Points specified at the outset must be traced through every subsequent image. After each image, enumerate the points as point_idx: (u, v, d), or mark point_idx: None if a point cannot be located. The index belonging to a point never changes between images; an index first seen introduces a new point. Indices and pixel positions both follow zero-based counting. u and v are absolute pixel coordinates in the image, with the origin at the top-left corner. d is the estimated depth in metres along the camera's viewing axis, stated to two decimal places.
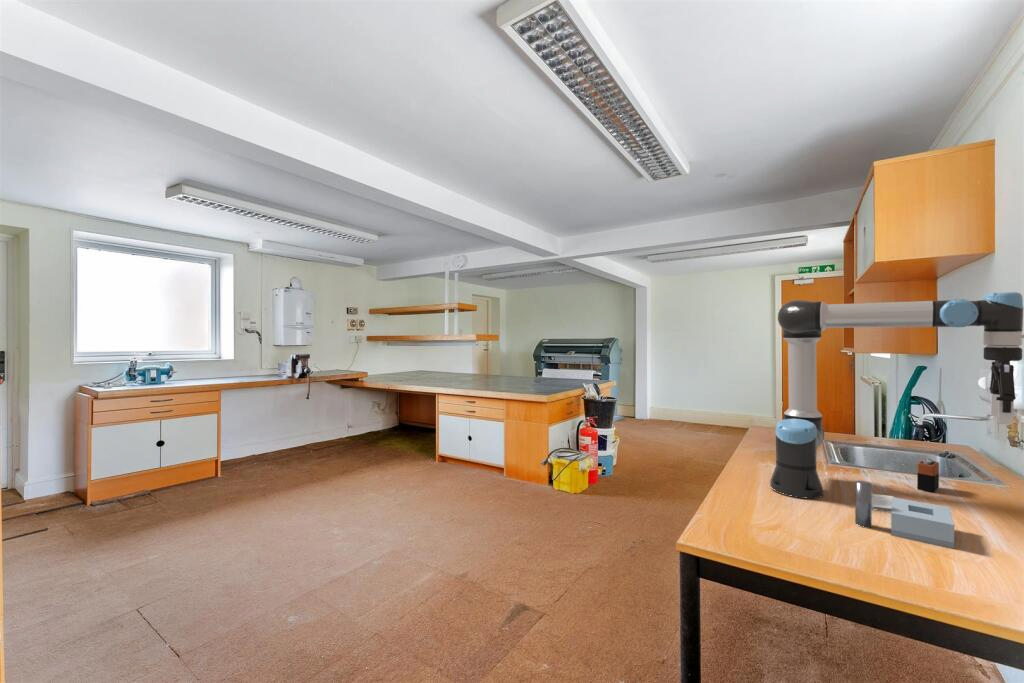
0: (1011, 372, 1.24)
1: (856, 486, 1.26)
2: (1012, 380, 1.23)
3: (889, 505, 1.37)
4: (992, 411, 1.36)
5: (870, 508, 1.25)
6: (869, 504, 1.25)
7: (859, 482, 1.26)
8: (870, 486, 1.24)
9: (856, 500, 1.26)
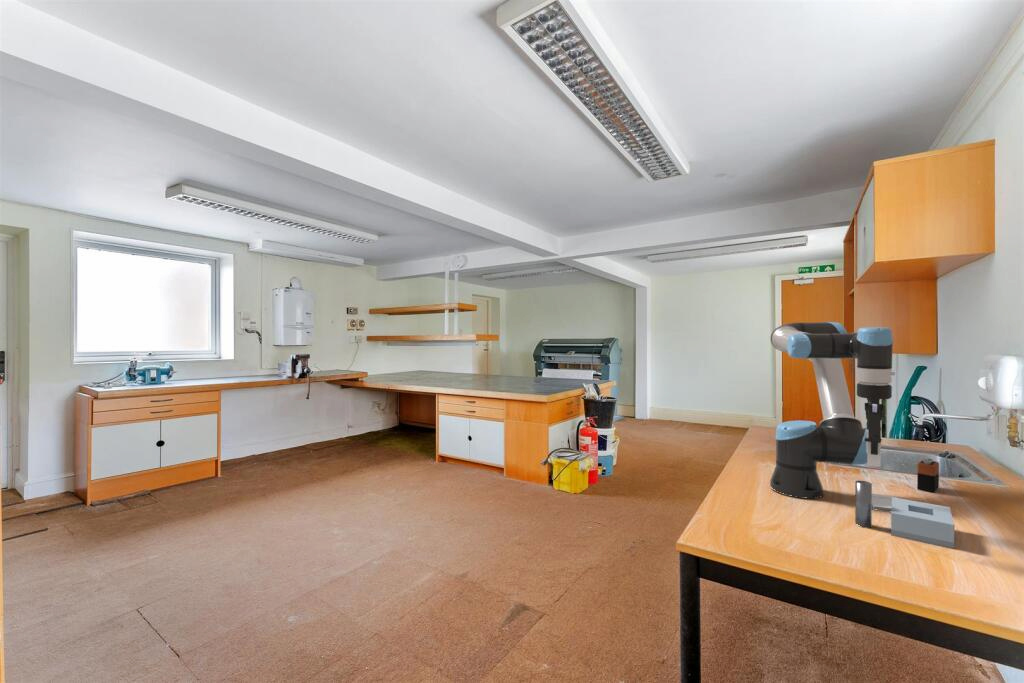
0: (878, 412, 1.19)
1: (856, 486, 1.26)
2: (879, 421, 1.18)
3: (890, 505, 1.37)
4: (867, 448, 1.31)
5: (870, 508, 1.25)
6: (869, 504, 1.25)
7: (859, 482, 1.26)
8: (870, 486, 1.24)
9: (856, 500, 1.26)
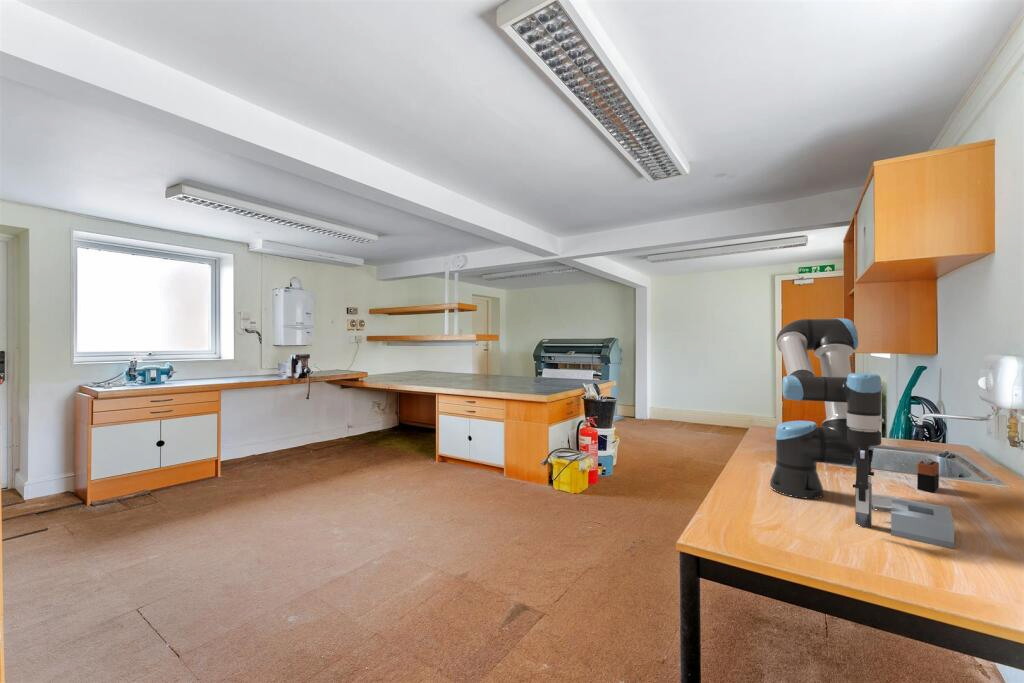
0: (866, 459, 1.20)
1: None
2: (866, 468, 1.19)
3: (890, 505, 1.37)
4: None
5: (870, 508, 1.25)
6: (869, 504, 1.25)
7: None
8: (870, 486, 1.24)
9: None
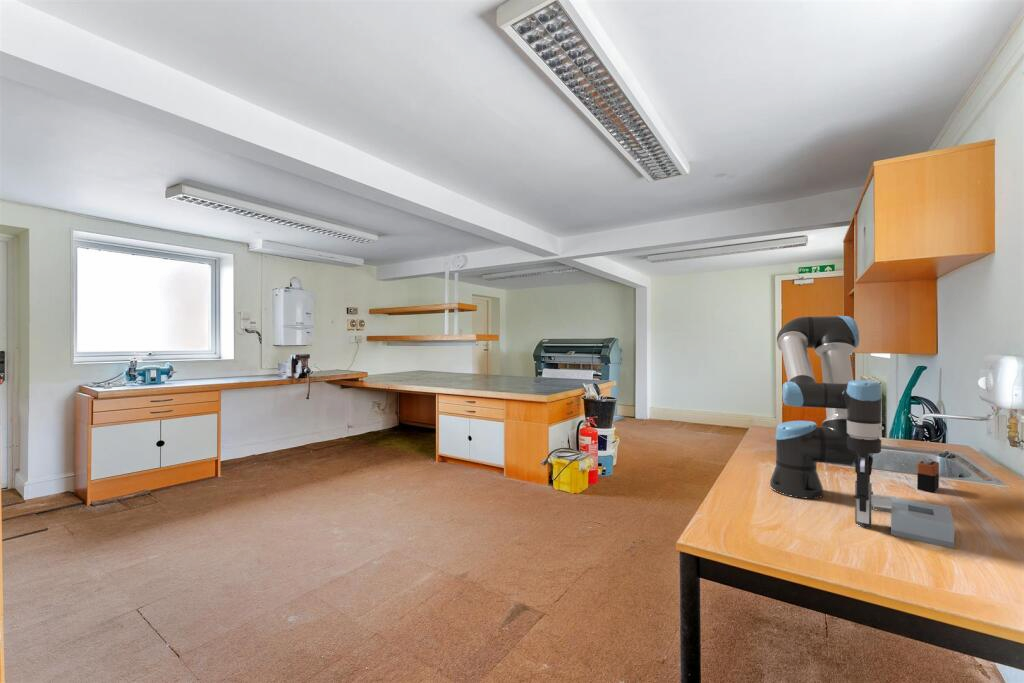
0: (866, 473, 1.21)
1: (856, 486, 1.26)
2: (866, 481, 1.21)
3: (890, 505, 1.37)
4: None
5: (870, 508, 1.25)
6: (869, 504, 1.25)
7: None
8: (870, 486, 1.25)
9: (856, 500, 1.26)
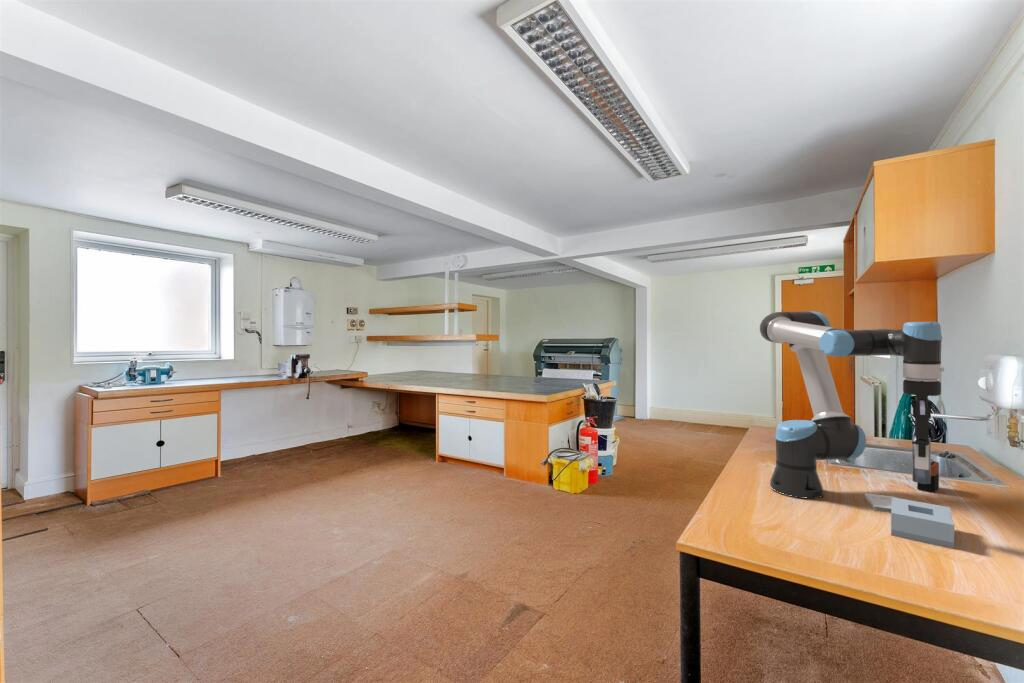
0: (927, 415, 1.16)
1: (914, 441, 1.21)
2: (927, 424, 1.16)
3: (891, 505, 1.37)
4: None
5: (929, 463, 1.19)
6: None
7: None
8: (929, 440, 1.19)
9: (914, 456, 1.21)
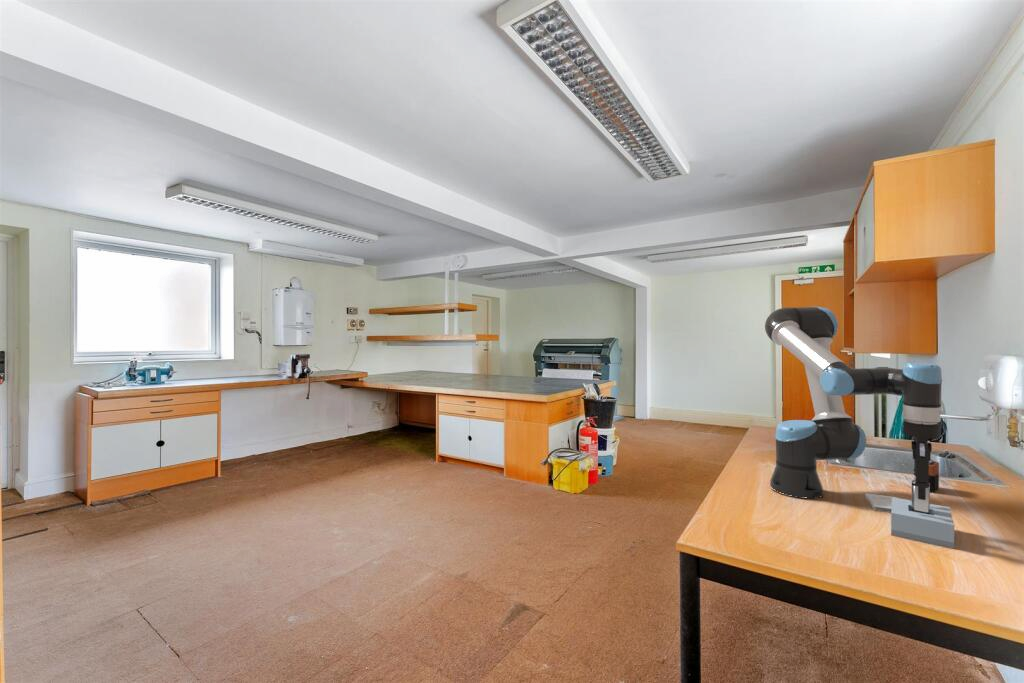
0: (926, 457, 1.16)
1: (913, 486, 1.22)
2: (927, 466, 1.15)
3: (891, 505, 1.37)
4: None
5: (928, 509, 1.20)
6: None
7: None
8: None
9: (913, 501, 1.22)
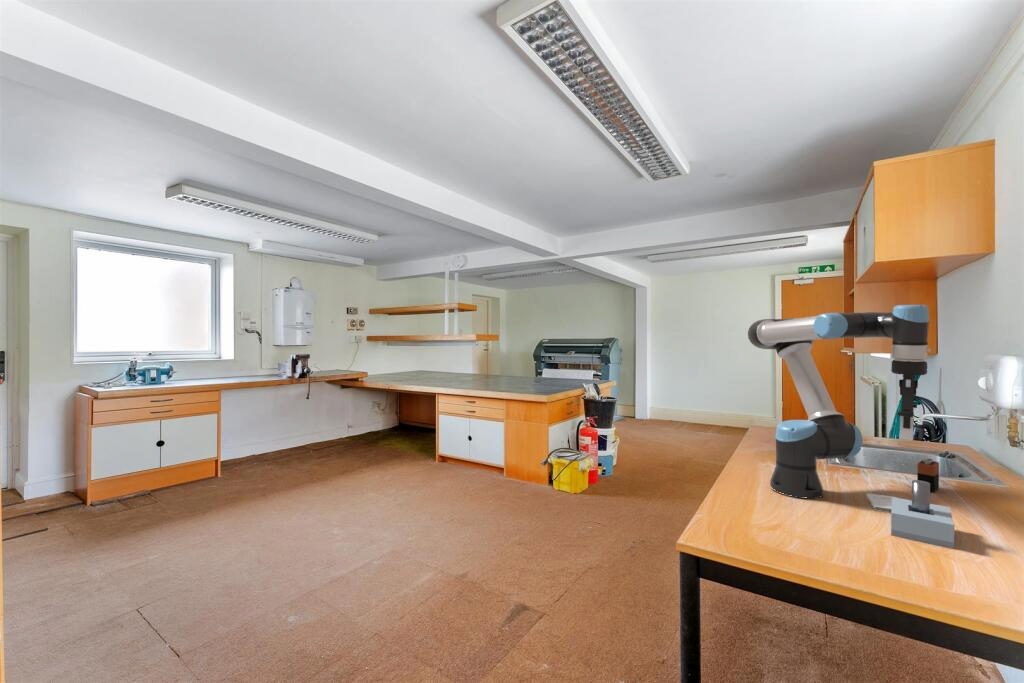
0: (912, 387, 1.21)
1: (913, 486, 1.21)
2: (912, 395, 1.21)
3: (891, 505, 1.37)
4: None
5: (928, 509, 1.20)
6: (927, 505, 1.20)
7: (916, 482, 1.22)
8: (928, 486, 1.20)
9: (913, 501, 1.22)
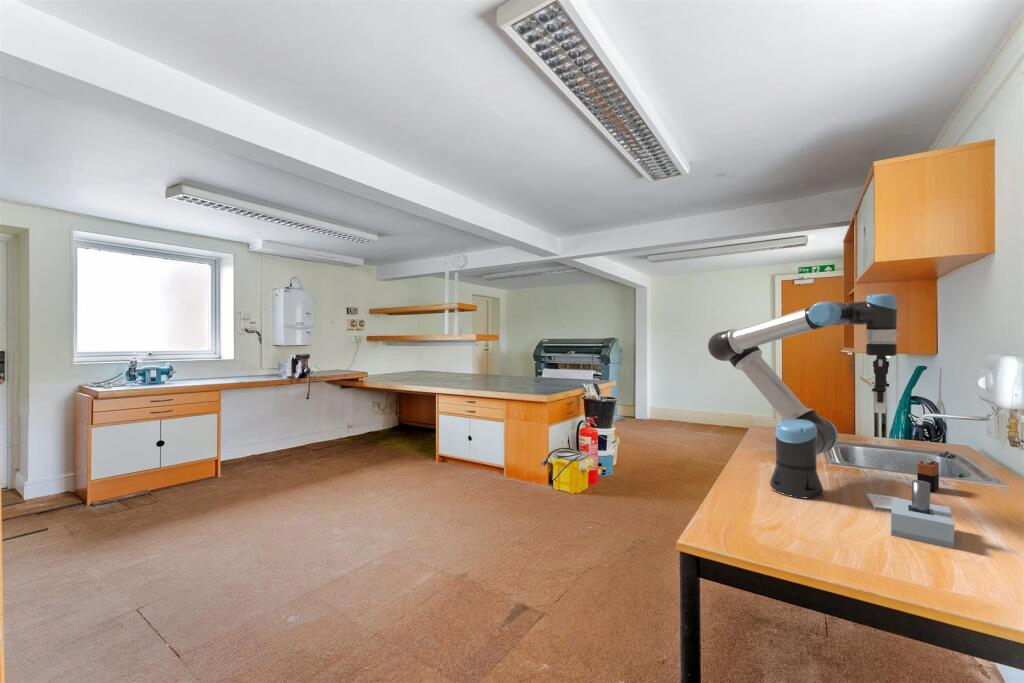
0: (884, 366, 1.38)
1: (913, 486, 1.21)
2: (884, 373, 1.37)
3: None
4: None
5: (928, 509, 1.20)
6: (927, 505, 1.20)
7: (916, 482, 1.22)
8: (929, 486, 1.20)
9: (913, 501, 1.22)
